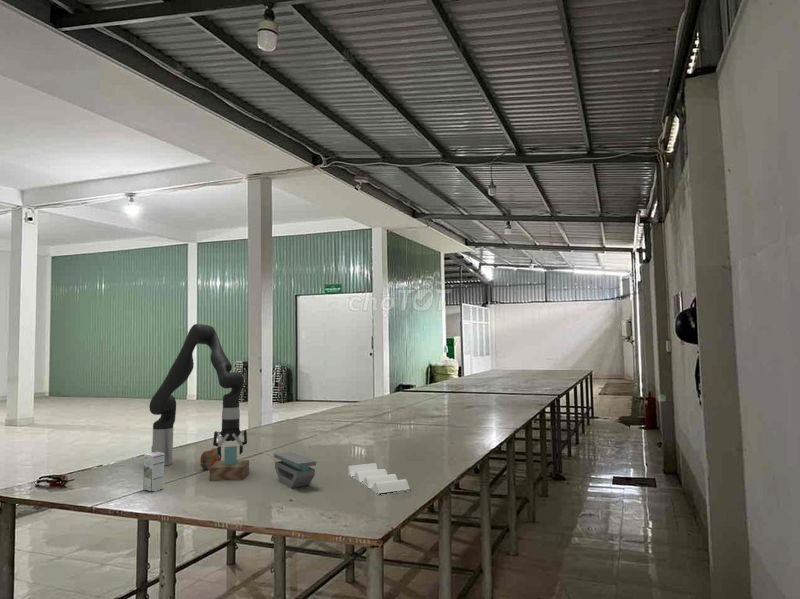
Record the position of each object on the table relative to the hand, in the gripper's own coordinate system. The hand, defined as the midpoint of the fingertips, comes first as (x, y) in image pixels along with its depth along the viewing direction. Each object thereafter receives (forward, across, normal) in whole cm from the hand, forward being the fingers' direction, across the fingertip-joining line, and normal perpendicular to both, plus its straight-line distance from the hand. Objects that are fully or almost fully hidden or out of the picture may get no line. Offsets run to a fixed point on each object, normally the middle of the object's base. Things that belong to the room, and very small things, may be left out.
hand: (230, 454), depth 246 cm
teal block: (+4, 0, 0) cm, 4 cm away
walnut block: (+10, 0, 0) cm, 10 cm away
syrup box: (+10, +29, +14) cm, 34 cm away
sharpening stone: (+10, -26, +21) cm, 35 cm away
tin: (+10, +9, -22) cm, 26 cm away
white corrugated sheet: (+10, -60, +31) cm, 68 cm away
